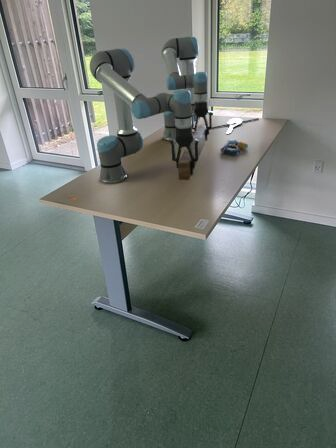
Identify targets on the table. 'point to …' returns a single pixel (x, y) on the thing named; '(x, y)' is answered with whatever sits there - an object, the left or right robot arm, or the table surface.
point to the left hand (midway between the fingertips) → (186, 174)
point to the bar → (185, 158)
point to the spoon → (233, 124)
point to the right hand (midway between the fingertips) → (201, 139)
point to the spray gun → (233, 147)
